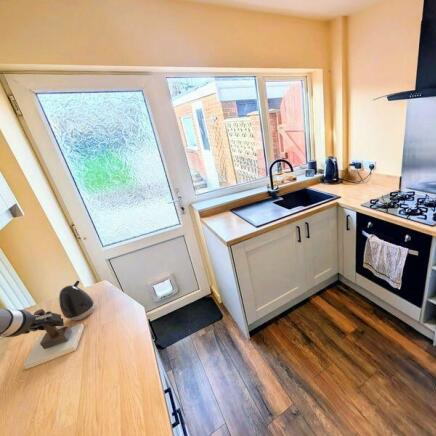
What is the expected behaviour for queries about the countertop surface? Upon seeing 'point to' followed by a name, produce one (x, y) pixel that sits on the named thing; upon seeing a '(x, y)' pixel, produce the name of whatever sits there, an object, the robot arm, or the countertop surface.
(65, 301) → the black pear
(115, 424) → the countertop surface
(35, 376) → the countertop surface
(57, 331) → the brown peg on base
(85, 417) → the countertop surface
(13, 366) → the countertop surface
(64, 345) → the tile
